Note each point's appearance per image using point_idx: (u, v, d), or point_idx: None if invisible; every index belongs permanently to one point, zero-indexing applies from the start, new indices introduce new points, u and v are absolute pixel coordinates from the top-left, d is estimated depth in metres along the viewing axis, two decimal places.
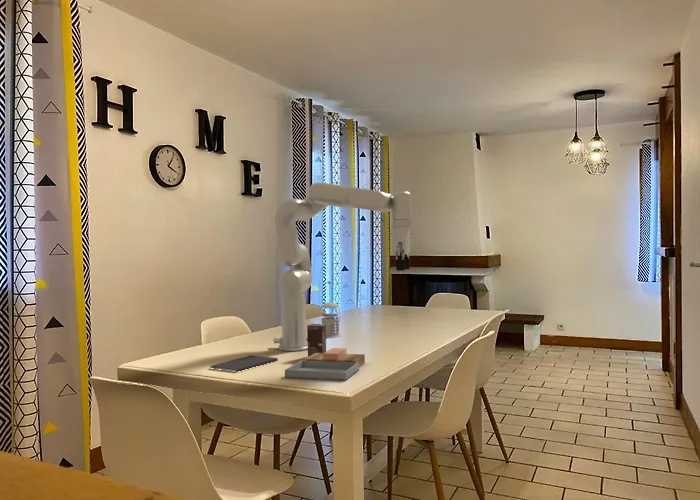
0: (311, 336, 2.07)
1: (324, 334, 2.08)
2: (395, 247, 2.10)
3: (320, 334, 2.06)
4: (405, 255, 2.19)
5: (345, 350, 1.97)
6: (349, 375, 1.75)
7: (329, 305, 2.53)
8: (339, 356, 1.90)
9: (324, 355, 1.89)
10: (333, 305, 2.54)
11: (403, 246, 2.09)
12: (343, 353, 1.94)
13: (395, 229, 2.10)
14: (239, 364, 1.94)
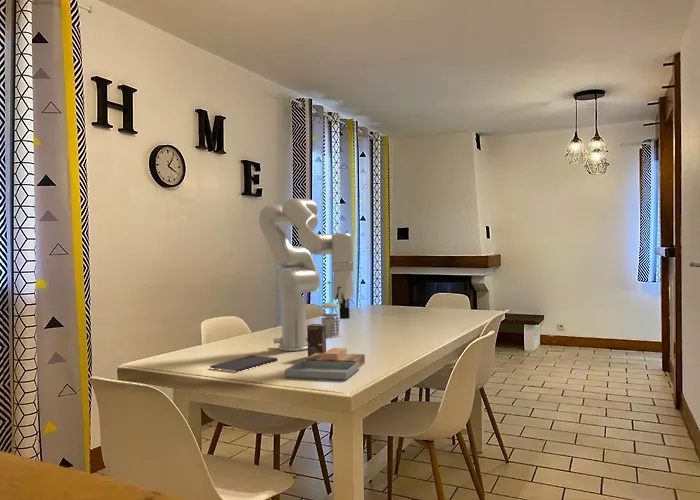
0: (311, 336, 2.07)
1: (324, 334, 2.08)
2: (334, 292, 1.99)
3: (320, 334, 2.06)
4: None
5: (345, 350, 1.97)
6: (349, 375, 1.75)
7: (329, 305, 2.53)
8: (339, 356, 1.90)
9: (324, 355, 1.89)
10: (333, 305, 2.54)
11: (343, 291, 1.98)
12: (343, 353, 1.94)
13: (334, 273, 2.00)
14: (239, 364, 1.94)
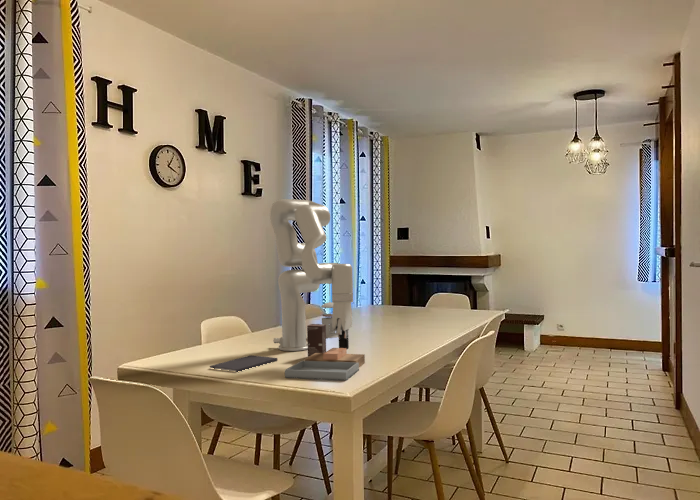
0: (311, 336, 2.07)
1: (324, 334, 2.08)
2: (334, 323, 1.99)
3: (320, 334, 2.06)
4: None
5: (345, 350, 1.97)
6: (349, 375, 1.75)
7: (329, 305, 2.53)
8: (339, 356, 1.90)
9: (324, 355, 1.89)
10: None
11: (342, 323, 1.98)
12: (343, 353, 1.94)
13: (334, 304, 1.99)
14: (239, 364, 1.94)
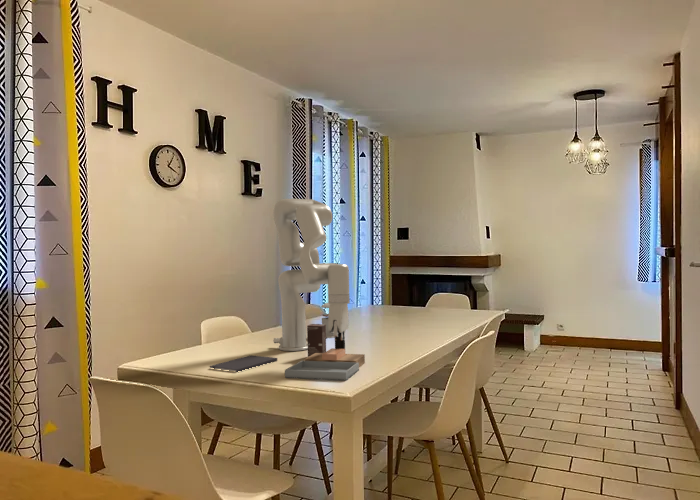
0: (311, 336, 2.07)
1: (324, 334, 2.08)
2: (330, 325, 1.94)
3: (320, 334, 2.06)
4: None
5: (344, 351, 1.95)
6: (349, 375, 1.75)
7: None
8: (338, 356, 1.89)
9: (323, 355, 1.88)
10: None
11: (338, 324, 1.94)
12: (342, 354, 1.93)
13: (330, 305, 1.95)
14: (239, 364, 1.94)
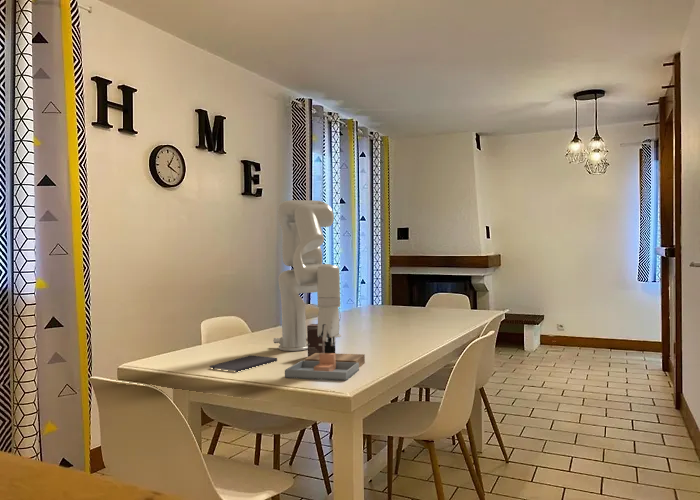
0: (311, 336, 2.07)
1: None
2: (319, 330, 1.84)
3: None
4: None
5: (334, 358, 1.84)
6: (349, 375, 1.75)
7: None
8: (331, 367, 1.81)
9: None
10: None
11: (328, 329, 1.83)
12: (335, 364, 1.85)
13: (319, 309, 1.84)
14: (239, 364, 1.94)
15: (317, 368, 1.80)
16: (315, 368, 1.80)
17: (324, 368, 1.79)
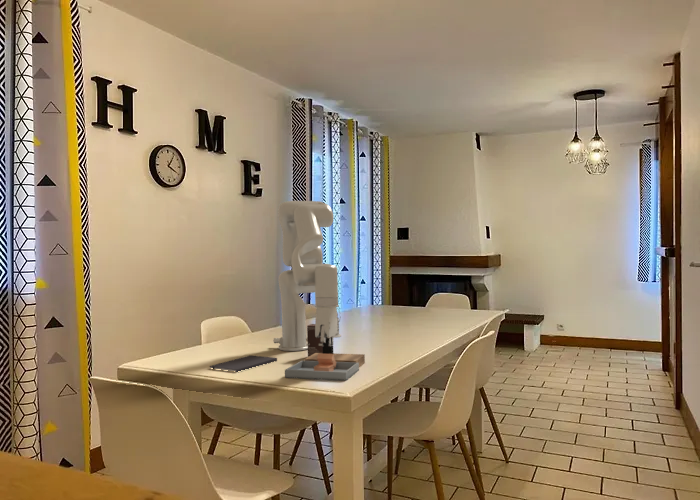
0: (311, 336, 2.07)
1: None
2: (317, 330, 1.82)
3: None
4: None
5: (332, 359, 1.83)
6: (349, 375, 1.75)
7: None
8: (331, 367, 1.81)
9: None
10: None
11: (326, 329, 1.81)
12: (334, 362, 1.85)
13: (317, 309, 1.82)
14: (239, 364, 1.94)
15: (317, 368, 1.80)
16: (315, 368, 1.80)
17: (324, 368, 1.79)
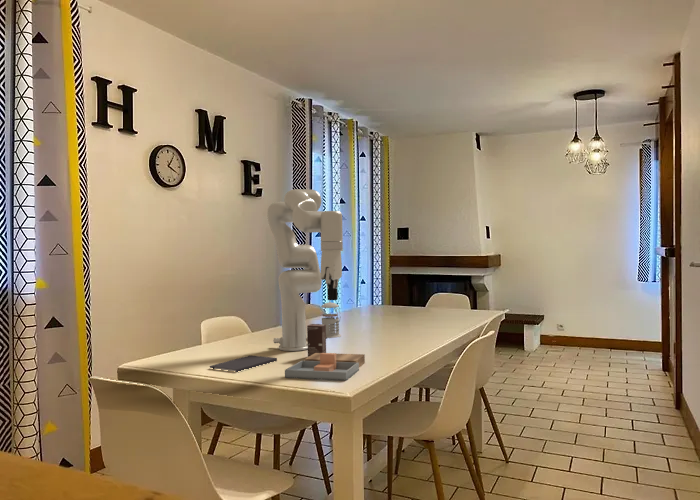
0: (311, 336, 2.07)
1: (324, 334, 2.08)
2: (322, 272, 1.91)
3: (320, 334, 2.06)
4: None
5: (335, 357, 1.85)
6: (349, 375, 1.75)
7: (329, 305, 2.53)
8: (331, 367, 1.81)
9: None
10: (333, 305, 2.54)
11: (331, 271, 1.90)
12: (335, 364, 1.85)
13: (323, 252, 1.91)
14: (238, 364, 1.94)
15: (317, 368, 1.80)
16: (315, 368, 1.80)
17: (324, 368, 1.79)
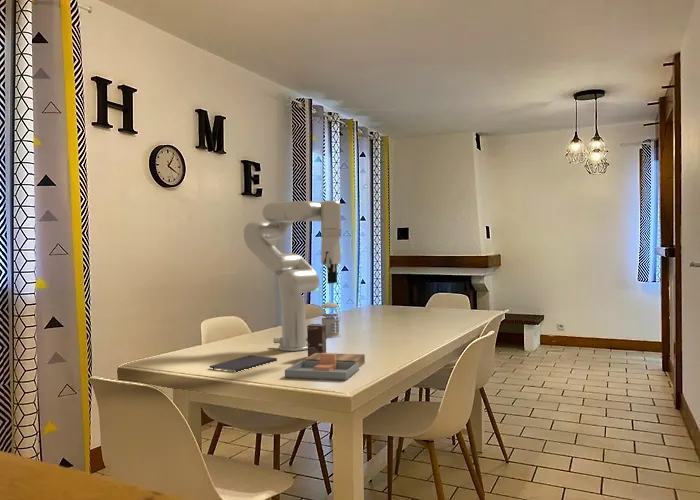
0: (311, 336, 2.07)
1: (324, 334, 2.08)
2: (323, 257, 2.07)
3: (320, 334, 2.06)
4: None
5: (335, 357, 1.85)
6: (349, 375, 1.75)
7: (329, 305, 2.53)
8: (331, 367, 1.81)
9: None
10: (333, 305, 2.54)
11: (331, 256, 2.06)
12: (335, 364, 1.85)
13: (323, 238, 2.08)
14: (238, 364, 1.94)
15: (317, 368, 1.80)
16: (315, 368, 1.80)
17: (324, 368, 1.79)
